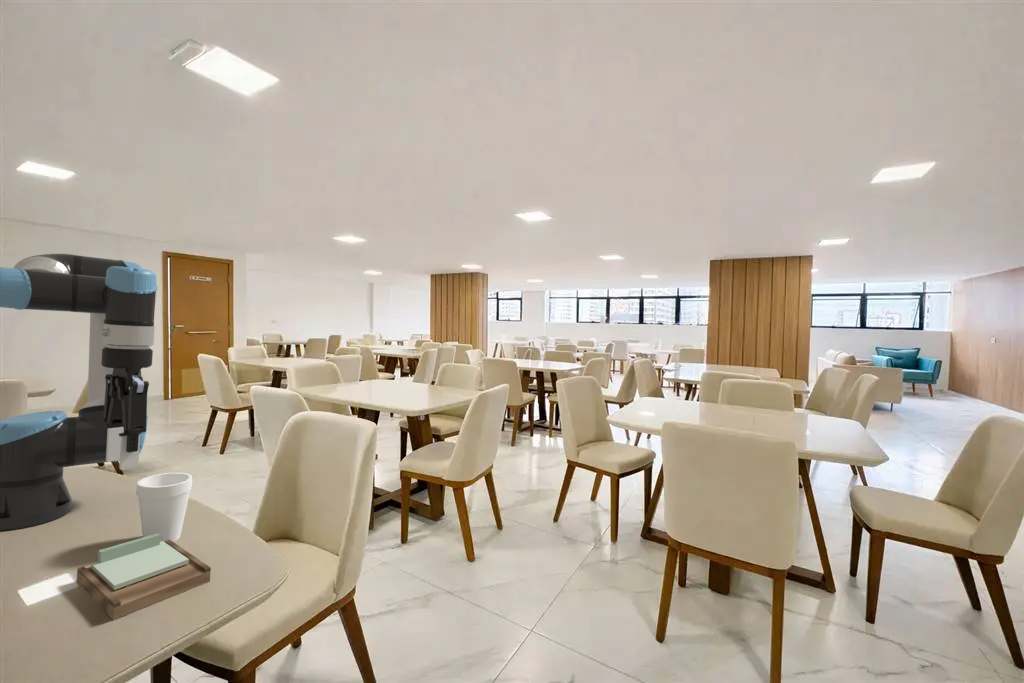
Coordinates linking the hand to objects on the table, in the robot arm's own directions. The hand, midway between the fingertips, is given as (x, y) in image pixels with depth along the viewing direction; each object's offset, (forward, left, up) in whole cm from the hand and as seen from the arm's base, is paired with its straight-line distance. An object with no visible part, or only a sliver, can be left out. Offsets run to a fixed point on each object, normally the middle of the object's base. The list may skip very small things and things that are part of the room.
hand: (121, 463), depth 88 cm
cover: (+11, 0, -17) cm, 20 cm away
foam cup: (-2, +8, -19) cm, 21 cm away
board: (+13, 0, -19) cm, 23 cm away
